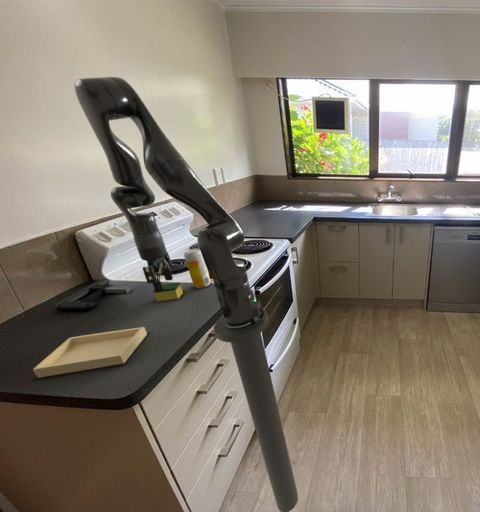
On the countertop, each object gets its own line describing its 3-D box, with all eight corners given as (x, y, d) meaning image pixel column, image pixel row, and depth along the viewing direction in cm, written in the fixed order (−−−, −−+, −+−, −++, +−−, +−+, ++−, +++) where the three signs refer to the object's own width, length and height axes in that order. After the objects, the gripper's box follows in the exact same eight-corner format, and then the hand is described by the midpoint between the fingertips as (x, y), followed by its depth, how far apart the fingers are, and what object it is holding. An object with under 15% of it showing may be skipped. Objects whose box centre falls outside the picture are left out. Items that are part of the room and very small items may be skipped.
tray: (147, 334, 88) (144, 326, 86) (124, 363, 76) (120, 355, 75) (73, 345, 83) (69, 337, 82) (37, 378, 72) (32, 369, 71)
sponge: (183, 292, 111) (179, 282, 109) (178, 298, 106) (174, 288, 105) (162, 295, 109) (158, 284, 107) (157, 301, 105) (152, 290, 103)
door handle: (139, 278, 117) (97, 277, 116) (96, 305, 98) (46, 305, 97) (141, 285, 118) (100, 285, 117) (100, 313, 100) (51, 313, 99)
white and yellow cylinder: (201, 281, 119) (191, 247, 113) (214, 281, 118) (205, 248, 112) (190, 288, 114) (179, 253, 108) (204, 289, 113) (193, 254, 107)
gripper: (153, 250, 94) (168, 293, 100) (171, 236, 106) (183, 275, 113) (126, 252, 92) (143, 296, 98) (147, 238, 105) (161, 277, 111)
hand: (164, 285), depth 105 cm, fingers open, 8 cm apart
